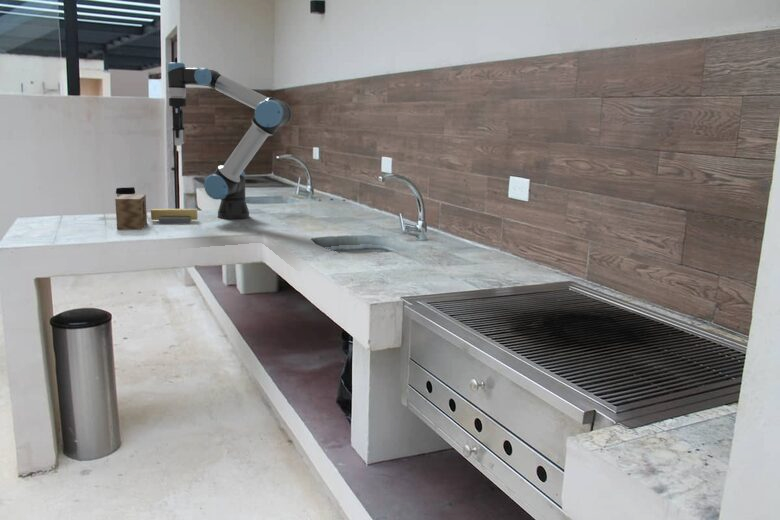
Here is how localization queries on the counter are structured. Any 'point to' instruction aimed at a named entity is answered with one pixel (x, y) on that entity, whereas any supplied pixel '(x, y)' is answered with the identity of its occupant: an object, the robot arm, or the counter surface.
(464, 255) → the counter surface
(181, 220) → the saddle tray
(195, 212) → the brass bar
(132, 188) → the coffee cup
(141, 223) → the wooden block
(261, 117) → the robot arm
